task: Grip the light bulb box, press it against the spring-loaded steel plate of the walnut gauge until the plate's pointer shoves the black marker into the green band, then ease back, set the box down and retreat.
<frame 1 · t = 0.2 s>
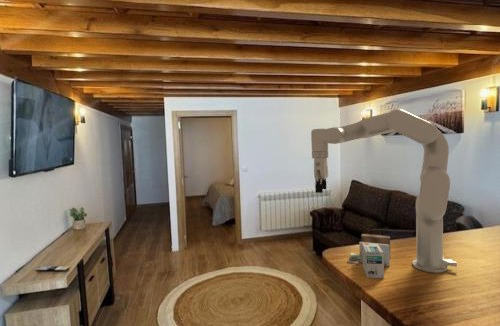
hand: (321, 190, 144), 31 cm above the counter, tool pointing down, fingers open, 9 cm apart
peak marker: (353, 257, 136), point 1 cm above the counter, slide at 0.0 cm
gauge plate: (368, 253, 132), point 5 cm above the counter, slide at 0.0 cm
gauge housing: (375, 260, 136), on the counter
light bulb box: (372, 273, 124), on the counter
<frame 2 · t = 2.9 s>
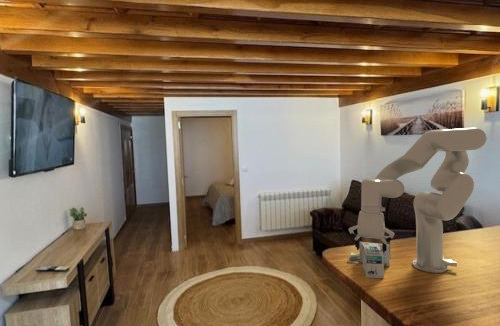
hand: (370, 250, 123), 9 cm above the counter, tool pointing down, fingers open, 9 cm apart
light bulb box: (372, 272, 124), on the counter, touching gripper
everything else where it was.
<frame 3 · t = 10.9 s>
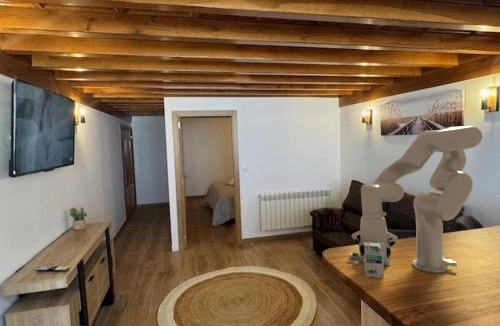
hand: (375, 255, 123), 7 cm above the counter, tool pointing down, fingers open, 9 cm apart
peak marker: (355, 254, 140), point 1 cm above the counter, slide at 4.9 cm
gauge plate: (369, 252, 133), point 5 cm above the counter, slide at 1.1 cm
everything else where it was.
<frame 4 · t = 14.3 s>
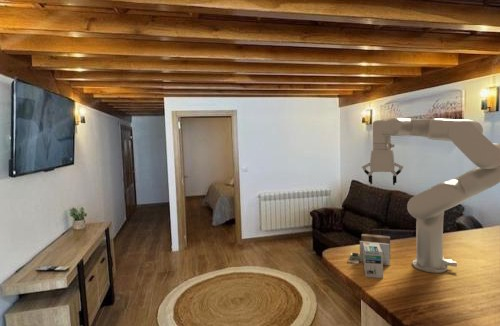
hand: (382, 184, 139), 33 cm above the counter, tool pointing down, fingers open, 9 cm apart
light bulb box: (372, 272, 124), on the counter
everything else where it was.
at the end: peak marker slide at 4.9 cm; light bulb box tilted 0°; the gripper is holding nothing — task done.
